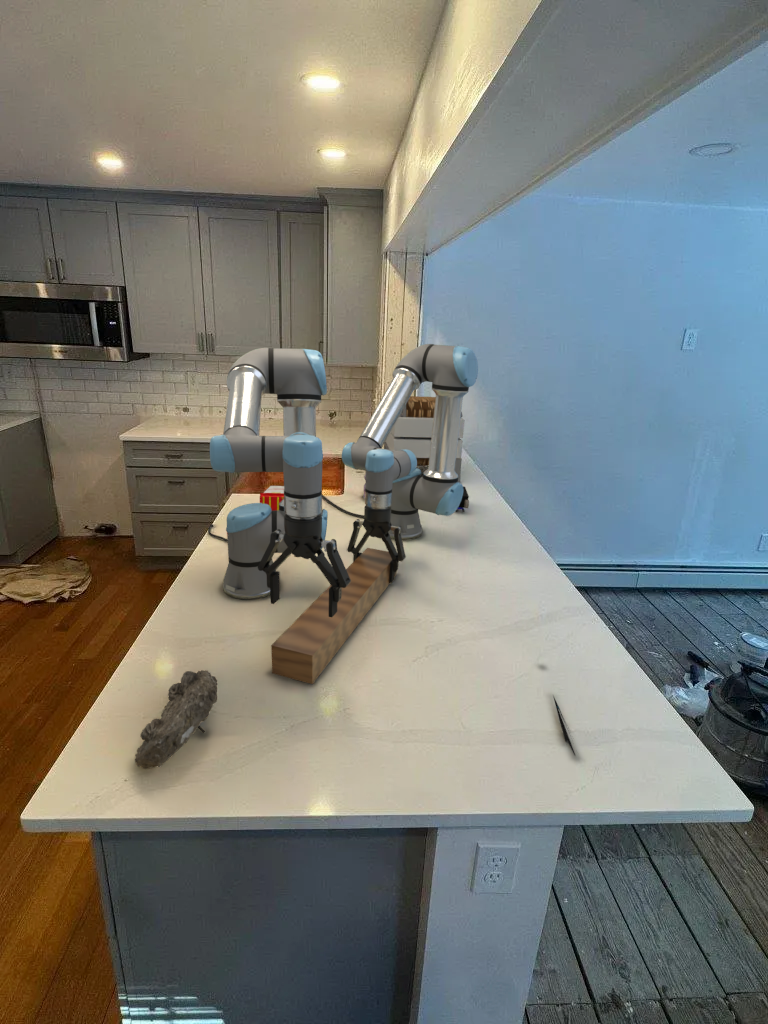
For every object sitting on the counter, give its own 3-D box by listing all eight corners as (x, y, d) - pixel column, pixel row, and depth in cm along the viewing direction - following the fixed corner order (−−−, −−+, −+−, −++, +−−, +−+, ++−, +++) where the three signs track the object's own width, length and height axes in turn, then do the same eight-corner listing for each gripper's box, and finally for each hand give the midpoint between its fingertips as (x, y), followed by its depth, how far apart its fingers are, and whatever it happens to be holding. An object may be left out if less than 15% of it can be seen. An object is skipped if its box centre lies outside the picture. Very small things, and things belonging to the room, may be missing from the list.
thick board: (366, 568, 172) (367, 547, 170) (396, 574, 169) (397, 553, 167) (271, 673, 122) (271, 645, 119) (312, 684, 119) (312, 655, 116)
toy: (300, 481, 221) (289, 494, 192) (300, 514, 224) (289, 533, 194) (268, 480, 221) (253, 493, 191) (269, 514, 223) (254, 532, 194)
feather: (542, 671, 128) (548, 665, 128) (575, 760, 102) (582, 753, 101) (536, 667, 128) (542, 661, 128) (567, 755, 102) (574, 748, 101)
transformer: (382, 463, 289) (386, 382, 275) (445, 464, 293) (451, 384, 279) (390, 482, 257) (394, 392, 243) (460, 483, 261) (468, 394, 247)
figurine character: (469, 517, 223) (463, 501, 236) (471, 500, 219) (465, 484, 233) (452, 516, 222) (447, 500, 236) (454, 499, 219) (449, 483, 232)
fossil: (167, 671, 114) (219, 638, 109) (200, 702, 116) (252, 671, 112) (109, 762, 94) (169, 727, 89) (151, 796, 97) (212, 765, 92)
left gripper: (238, 510, 113) (242, 603, 121) (353, 530, 106) (351, 628, 113) (258, 499, 120) (261, 588, 127) (368, 517, 113) (364, 611, 120)
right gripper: (335, 503, 158) (334, 576, 165) (412, 515, 151) (407, 590, 159) (346, 496, 165) (344, 565, 172) (420, 507, 158) (415, 579, 165)
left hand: (303, 607), depth 120 cm, fingers open, 13 cm apart
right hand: (375, 577), depth 165 cm, fingers closed on thick board, 10 cm apart
